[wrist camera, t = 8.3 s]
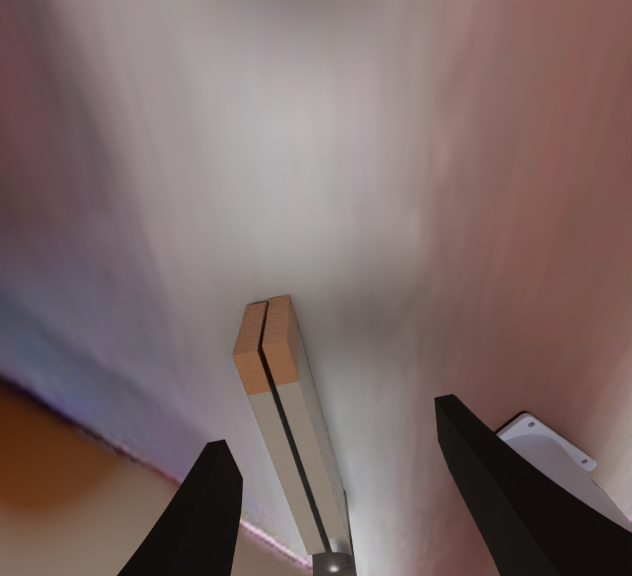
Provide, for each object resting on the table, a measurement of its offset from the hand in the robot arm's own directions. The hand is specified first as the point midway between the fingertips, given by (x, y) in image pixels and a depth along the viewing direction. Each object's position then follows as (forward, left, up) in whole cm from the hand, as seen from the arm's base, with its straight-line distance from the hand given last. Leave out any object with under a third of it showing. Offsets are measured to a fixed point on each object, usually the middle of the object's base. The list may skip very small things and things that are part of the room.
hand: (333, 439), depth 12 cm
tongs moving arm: (-3, +8, -10) cm, 13 cm away
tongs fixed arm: (-5, +8, -10) cm, 14 cm away
